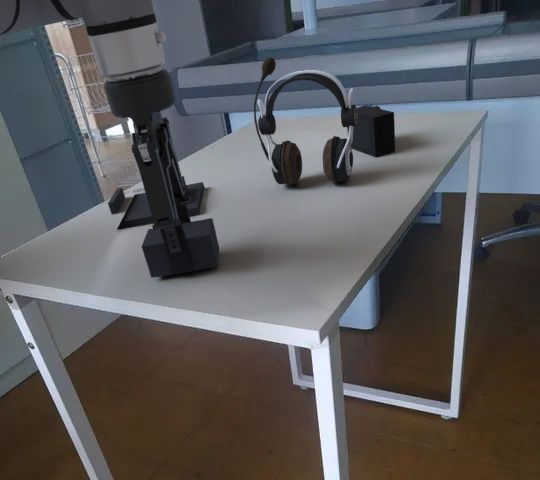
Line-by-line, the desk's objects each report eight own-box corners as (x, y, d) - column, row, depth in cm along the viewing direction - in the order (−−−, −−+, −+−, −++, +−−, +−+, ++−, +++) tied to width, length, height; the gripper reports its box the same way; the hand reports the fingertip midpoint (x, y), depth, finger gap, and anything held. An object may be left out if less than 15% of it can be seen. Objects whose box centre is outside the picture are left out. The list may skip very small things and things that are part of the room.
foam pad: (151, 277, 72) (141, 246, 70) (157, 258, 77) (148, 228, 75) (217, 266, 72) (210, 235, 69) (219, 248, 77) (212, 217, 74)
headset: (258, 194, 94) (235, 66, 83) (272, 179, 100) (252, 56, 89) (356, 189, 88) (345, 49, 77) (365, 173, 94) (356, 41, 83)
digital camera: (401, 150, 101) (400, 109, 97) (376, 157, 100) (373, 117, 96) (372, 140, 109) (370, 103, 105) (348, 147, 108) (345, 110, 104)
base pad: (95, 233, 92) (87, 212, 90) (112, 205, 104) (105, 186, 102) (199, 214, 91) (193, 193, 89) (204, 188, 103) (199, 168, 101)
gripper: (156, 80, 53) (209, 289, 66) (176, 56, 69) (216, 229, 82) (81, 94, 54) (149, 298, 67) (118, 67, 69) (167, 237, 82)
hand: (185, 260), depth 74 cm, fingers closed on foam pad, 6 cm apart
